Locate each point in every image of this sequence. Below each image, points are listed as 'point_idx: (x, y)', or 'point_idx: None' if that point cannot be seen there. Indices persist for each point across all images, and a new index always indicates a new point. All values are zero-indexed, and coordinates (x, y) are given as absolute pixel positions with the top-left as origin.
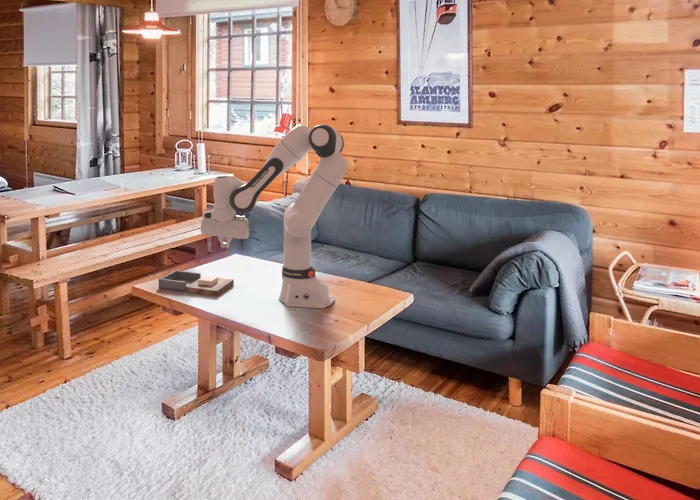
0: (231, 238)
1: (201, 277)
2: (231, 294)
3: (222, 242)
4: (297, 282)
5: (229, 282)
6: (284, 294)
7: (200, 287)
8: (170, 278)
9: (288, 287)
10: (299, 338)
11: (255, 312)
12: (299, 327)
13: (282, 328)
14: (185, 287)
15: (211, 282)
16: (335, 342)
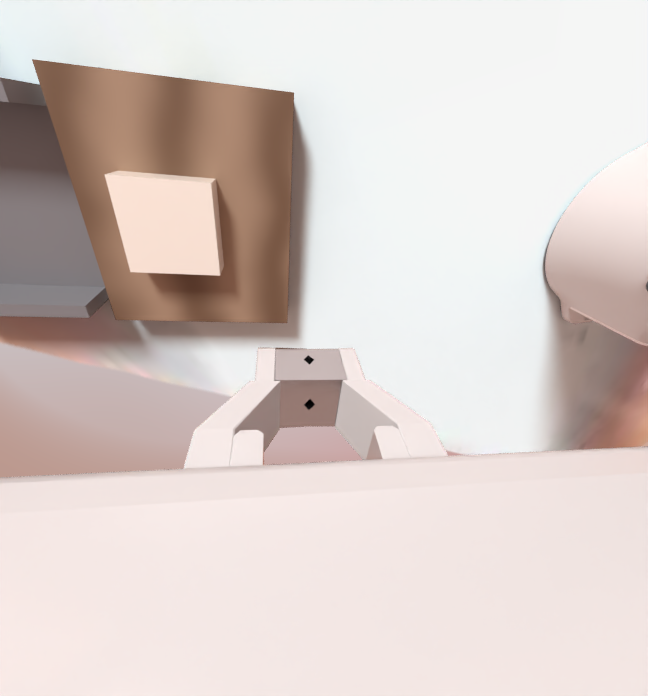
0: (433, 443)
1: (50, 113)
2: (332, 257)
3: (276, 425)
4: None
5: (291, 171)
6: (586, 306)
7: (188, 306)
8: None
9: (632, 339)
10: None
11: (455, 388)
12: (564, 430)
13: (523, 444)
14: (101, 297)
15: (221, 270)
16: None
